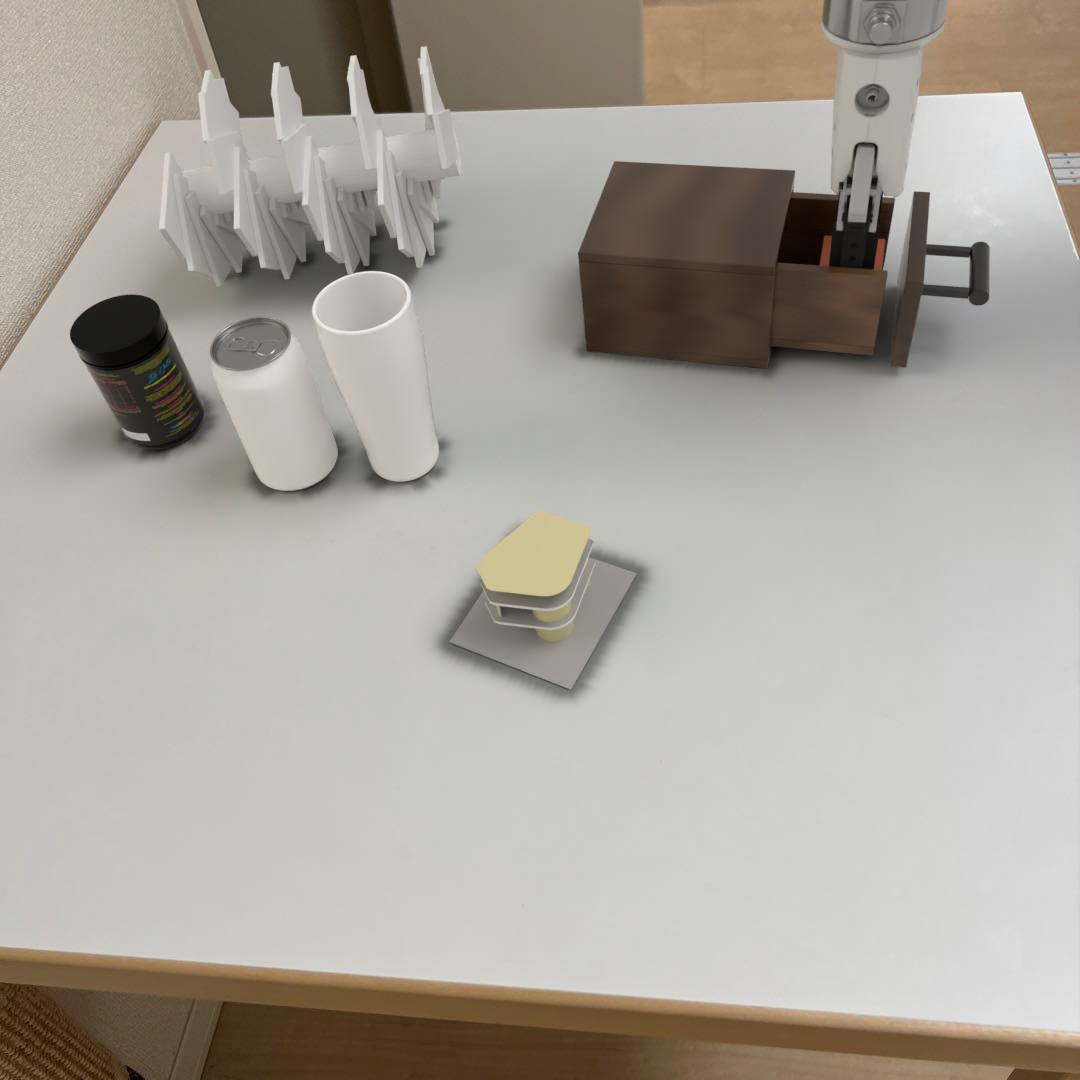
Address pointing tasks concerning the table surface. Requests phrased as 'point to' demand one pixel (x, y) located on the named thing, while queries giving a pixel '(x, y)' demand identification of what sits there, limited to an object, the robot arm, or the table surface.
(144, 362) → the supplement container
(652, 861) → the table surface
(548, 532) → the stacked layers on plate
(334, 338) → the drinking glass
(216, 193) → the spiral staircase
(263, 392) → the can
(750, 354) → the cabinet
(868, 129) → the robot arm
